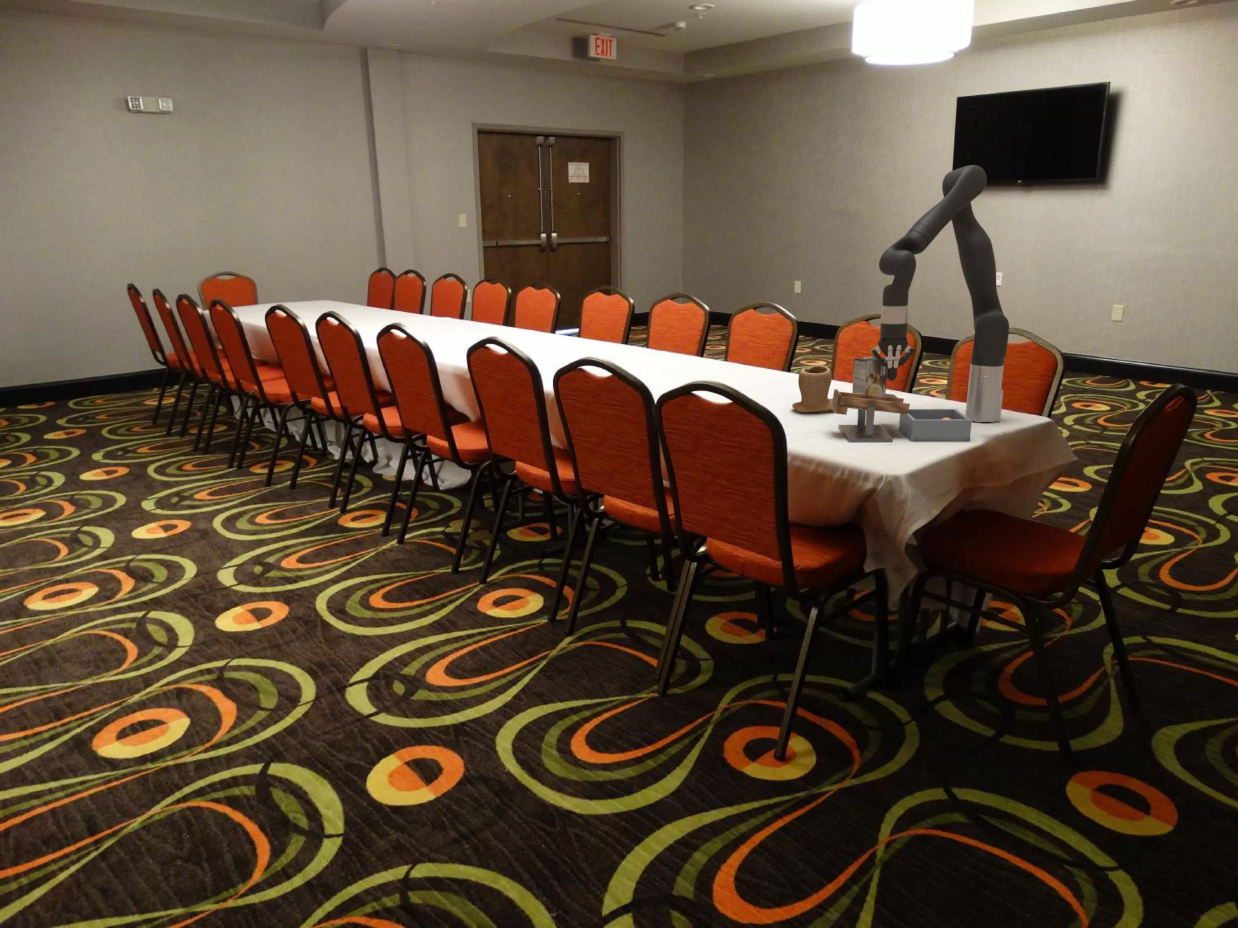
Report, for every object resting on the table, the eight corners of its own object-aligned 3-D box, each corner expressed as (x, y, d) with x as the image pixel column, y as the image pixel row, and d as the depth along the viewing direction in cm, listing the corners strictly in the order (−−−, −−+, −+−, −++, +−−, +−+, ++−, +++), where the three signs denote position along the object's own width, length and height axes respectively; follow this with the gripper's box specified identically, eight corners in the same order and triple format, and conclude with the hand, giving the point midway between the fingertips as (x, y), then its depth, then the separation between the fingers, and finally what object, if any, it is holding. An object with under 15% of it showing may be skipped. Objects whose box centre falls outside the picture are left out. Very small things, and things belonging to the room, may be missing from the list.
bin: (954, 428, 248) (955, 408, 247) (969, 441, 235) (971, 420, 233) (898, 428, 249) (900, 409, 248) (911, 441, 236) (913, 420, 234)
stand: (879, 428, 251) (881, 396, 248) (892, 442, 235) (894, 408, 233) (838, 428, 252) (840, 396, 249) (848, 442, 236) (850, 408, 234)
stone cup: (800, 417, 266) (802, 370, 262) (788, 408, 278) (790, 363, 273) (846, 414, 268) (849, 368, 264) (832, 406, 279) (834, 361, 275)
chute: (891, 407, 255) (895, 389, 253) (907, 421, 237) (910, 402, 236) (825, 400, 255) (828, 382, 254) (836, 414, 238) (839, 395, 236)
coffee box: (871, 402, 284) (874, 355, 279) (885, 406, 278) (888, 358, 274) (850, 405, 280) (853, 357, 275) (864, 409, 274) (867, 360, 270)
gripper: (913, 319, 246) (910, 377, 251) (868, 320, 247) (865, 378, 252) (921, 322, 239) (917, 382, 244) (874, 323, 240) (871, 383, 245)
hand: (891, 380), depth 248 cm, fingers closed
